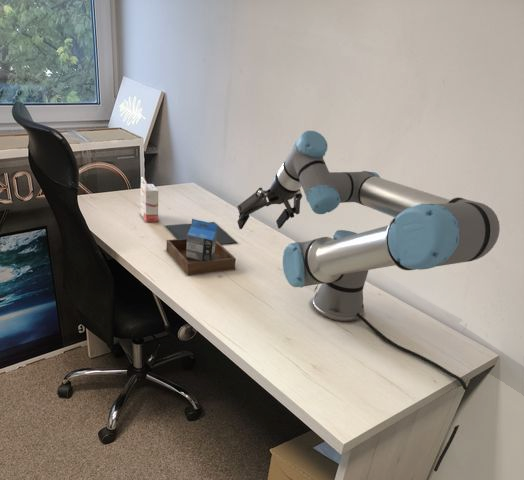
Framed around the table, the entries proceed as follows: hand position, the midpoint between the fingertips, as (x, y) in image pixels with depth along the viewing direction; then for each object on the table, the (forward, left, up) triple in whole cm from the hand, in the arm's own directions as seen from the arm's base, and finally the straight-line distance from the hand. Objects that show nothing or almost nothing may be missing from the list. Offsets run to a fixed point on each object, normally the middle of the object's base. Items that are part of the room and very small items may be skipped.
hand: (259, 225), depth 149 cm
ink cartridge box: (+51, +18, -16) cm, 56 cm away
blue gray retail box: (+12, +14, -16) cm, 24 cm away
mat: (+32, +5, -16) cm, 36 cm away
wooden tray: (+12, +14, -16) cm, 24 cm away
